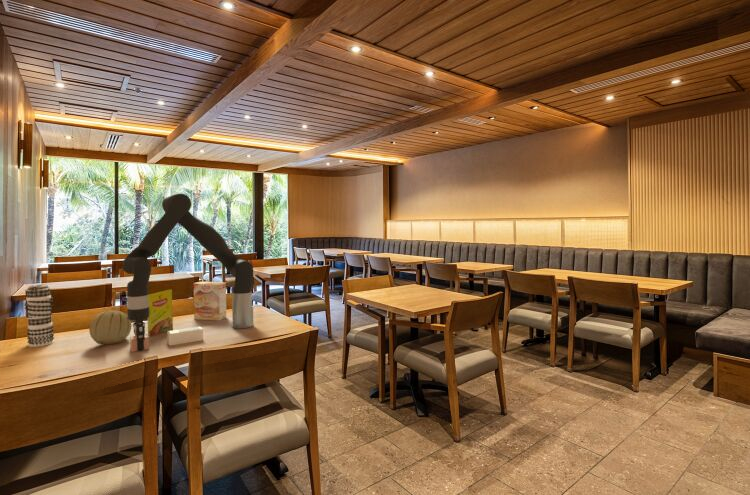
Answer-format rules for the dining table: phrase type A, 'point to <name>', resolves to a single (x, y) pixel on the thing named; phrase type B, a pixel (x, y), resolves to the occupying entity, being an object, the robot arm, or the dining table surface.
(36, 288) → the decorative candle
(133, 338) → the stub
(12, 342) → the dining table surface
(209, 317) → the coffeecake box
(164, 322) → the food package
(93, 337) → the cantaloupe
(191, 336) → the white rectangular block
